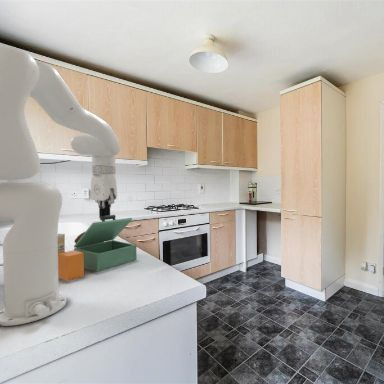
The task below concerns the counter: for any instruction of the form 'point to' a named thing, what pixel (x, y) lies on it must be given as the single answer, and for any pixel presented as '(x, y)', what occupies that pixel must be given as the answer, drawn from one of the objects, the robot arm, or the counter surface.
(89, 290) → the counter surface
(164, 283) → the counter surface
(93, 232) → the lunchbox lid
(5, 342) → the counter surface
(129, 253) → the lunchbox
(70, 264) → the juice carton
